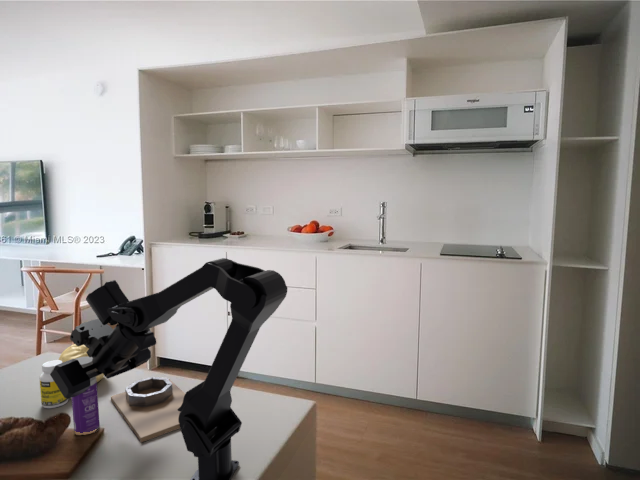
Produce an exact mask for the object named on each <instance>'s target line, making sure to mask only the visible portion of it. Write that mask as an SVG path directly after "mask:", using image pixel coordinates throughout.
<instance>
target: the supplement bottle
mask: <svg viewBox="0 0 640 480" xmlns="http://www.w3.org/2000/svg"><path fill="white" fill-rule="evenodd" d="M61 363H62V361H61V360H59V359H54V360H48V361H45V362H44V363H42V365H41V370H42V373H41V374H40V376H39V389H40V400H41V401H40V402H41V406H42V408H45V409H54V408H58V407H62V406H64V405H65V404H66V403H68V401H69V399H68V398H64V396H63V394H62V393H61V391H60V390H59V388H58V386H57V385H56V383H55V382H54V380H53V379H52V377H51V375H50V373H51V371H52V370H53V368H54V367H55V366H56V365H58V364H61Z"/></svg>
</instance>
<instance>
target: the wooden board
mask: <svg viewBox="0 0 640 480" xmlns="http://www.w3.org/2000/svg"><path fill="white" fill-rule="evenodd" d="M168 379H169V381H170V382H171V383H172V389H173V394H172V395H171V396H170V397H169V398H168V399H167V400H166V401H165V402H163V403H160V404H156V405H153V406H149V407H136V406H129V404H128V402H127V400H126V392H125V391H124V392H120V393H117V394H113V395H111V396H110V401H111V402H112V404H113V405H114V407H115V408H116V409H117V411H118V412H119V414H120V415H121V416H122V417H123V419H124V421H125V422H126V423H127V425H128V426H129V427H130V430H132V432H133V433H134V434H135V436H136V437H137V438H138V440H139V442H140V443H143V442H146V441H149V440H152V439H155V438H157V437H161V436H163V435H165V434H168V433H170V432H173V431H176V430H179V429H180V423H179V422H178V418H179V414H180V412H181V411H178V408H180V407H181V405H182V403H183V399H184V396H185V394H186V392H185V391H183V390H182V388H180V387H179V386H178V385H177V384H175V383H174V382H173V380H171V378H168ZM161 390H162V389H154V388H152V389H148V390H144V391H140V392H138V393H137V394H145V395H146V394H150V393H154V392H158V391H161Z"/></svg>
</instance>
